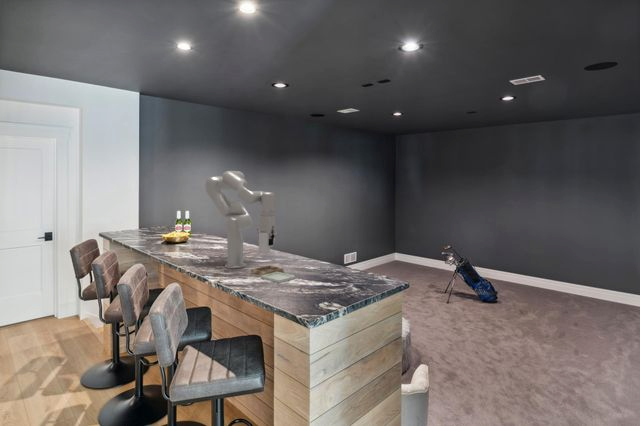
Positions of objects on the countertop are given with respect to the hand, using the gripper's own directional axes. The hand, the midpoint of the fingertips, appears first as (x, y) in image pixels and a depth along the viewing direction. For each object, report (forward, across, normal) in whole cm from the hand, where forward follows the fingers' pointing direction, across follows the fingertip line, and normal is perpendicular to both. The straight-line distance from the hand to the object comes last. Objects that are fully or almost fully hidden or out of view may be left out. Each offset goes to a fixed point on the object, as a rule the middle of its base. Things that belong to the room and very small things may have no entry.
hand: (266, 244), depth 215 cm
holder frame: (+17, +1, 0) cm, 17 cm away
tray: (+16, +15, -5) cm, 23 cm away
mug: (+5, 0, 0) cm, 5 cm away
